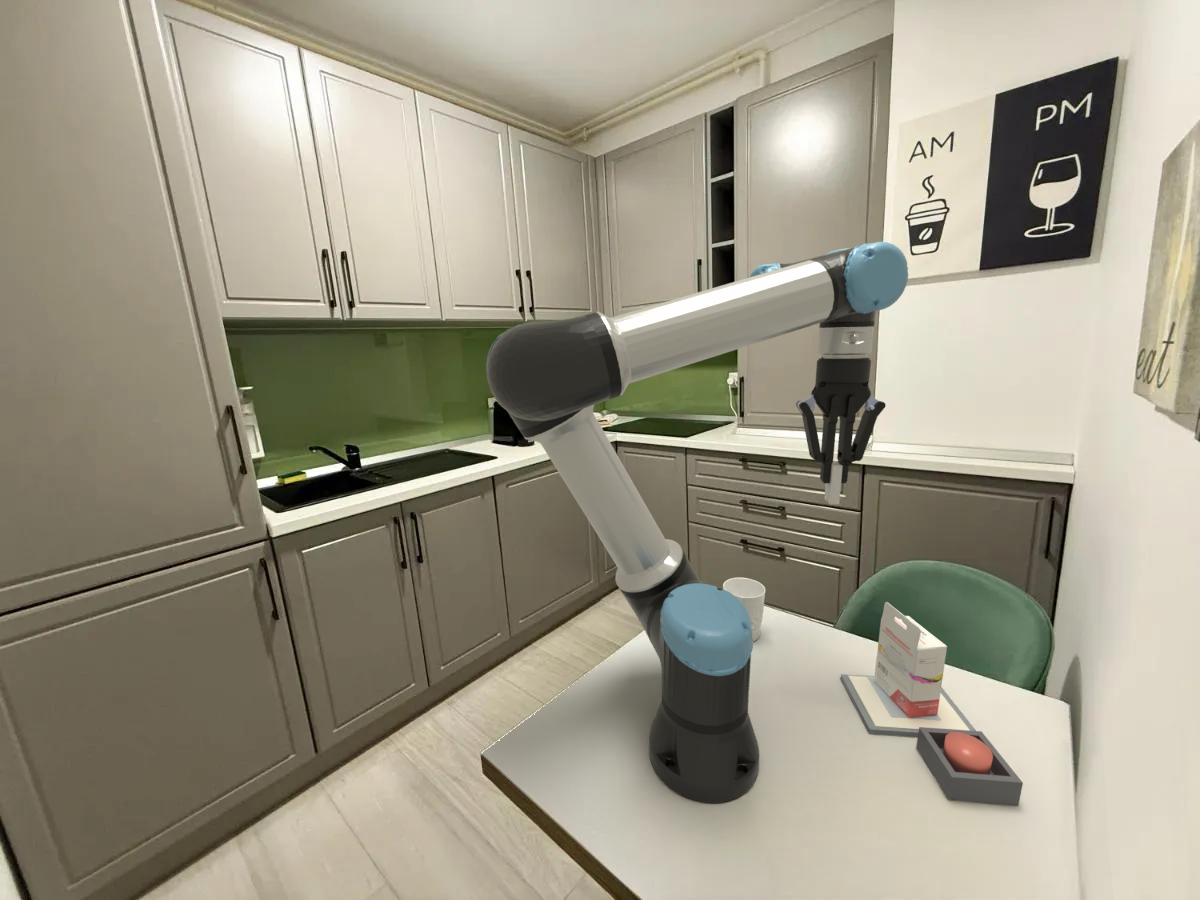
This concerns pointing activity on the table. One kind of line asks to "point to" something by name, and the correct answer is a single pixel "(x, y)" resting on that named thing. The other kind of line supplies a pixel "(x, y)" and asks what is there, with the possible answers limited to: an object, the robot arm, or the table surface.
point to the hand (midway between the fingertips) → (831, 501)
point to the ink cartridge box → (909, 664)
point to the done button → (967, 754)
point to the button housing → (969, 786)
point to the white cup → (749, 599)
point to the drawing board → (898, 710)
